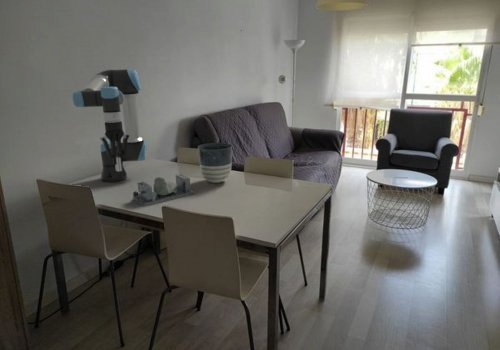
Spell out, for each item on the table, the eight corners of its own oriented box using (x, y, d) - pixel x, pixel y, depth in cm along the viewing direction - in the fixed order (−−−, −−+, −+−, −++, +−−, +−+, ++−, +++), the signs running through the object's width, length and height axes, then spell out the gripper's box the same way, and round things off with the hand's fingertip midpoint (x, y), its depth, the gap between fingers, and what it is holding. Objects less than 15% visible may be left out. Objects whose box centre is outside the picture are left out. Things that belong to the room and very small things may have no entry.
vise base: (132, 199, 192) (131, 182, 190) (180, 187, 209) (179, 172, 207) (144, 206, 182) (142, 189, 179) (193, 193, 199) (192, 177, 196)
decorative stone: (158, 198, 188) (169, 182, 187) (146, 187, 193) (156, 171, 193) (173, 203, 199) (184, 188, 198) (162, 192, 204) (172, 177, 204)
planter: (193, 184, 215) (191, 148, 209) (209, 175, 232) (208, 142, 226) (224, 188, 208) (222, 150, 202) (238, 178, 225) (237, 144, 219)
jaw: (129, 198, 189) (128, 184, 187) (144, 194, 194) (142, 180, 191) (138, 203, 181) (136, 188, 179) (152, 199, 186) (151, 185, 184)
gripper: (101, 123, 163) (107, 174, 170) (130, 120, 172) (135, 169, 178) (95, 121, 169) (101, 171, 176) (124, 119, 177) (129, 166, 184)
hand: (118, 170), depth 177 cm, fingers closed
